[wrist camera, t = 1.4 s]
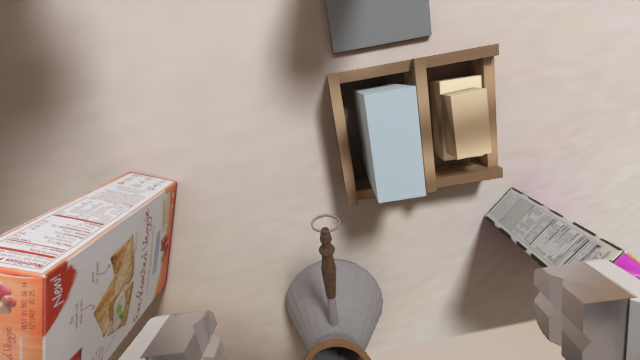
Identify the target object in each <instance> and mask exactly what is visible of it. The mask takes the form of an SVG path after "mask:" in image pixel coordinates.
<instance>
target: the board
mask: <svg viewBox="0 0 640 360" xmlns="http://www.w3.org/2000/svg"><path fill="white" fill-rule="evenodd" d="M353 92H354V99H355V106H356V113H357V120H358V126H359V133H360V140H361V147H362V154H363V161H364V168H365V172H366V174H367V177H368V179H369V181H370V184H371V186H372V189H373V191H374V193H375V196H376V198H377V201H378V203H384V202H390V201H396V200H403V199H409V198H415V197H422V196H426V187H425V177H424V167H423V156H422V146H421V135H420V125H419V114H418V104H417V94H416V86H411V85H401V84H392V83H390V84H384V85H379V86H373V87H367V88H362V89H356V90H353Z"/></svg>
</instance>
